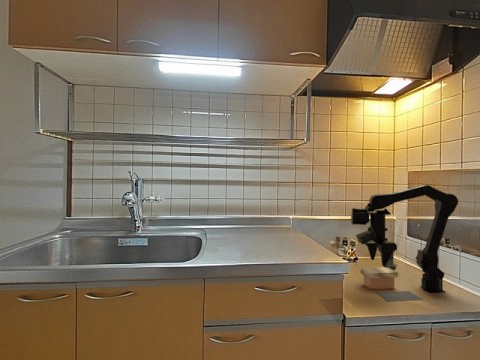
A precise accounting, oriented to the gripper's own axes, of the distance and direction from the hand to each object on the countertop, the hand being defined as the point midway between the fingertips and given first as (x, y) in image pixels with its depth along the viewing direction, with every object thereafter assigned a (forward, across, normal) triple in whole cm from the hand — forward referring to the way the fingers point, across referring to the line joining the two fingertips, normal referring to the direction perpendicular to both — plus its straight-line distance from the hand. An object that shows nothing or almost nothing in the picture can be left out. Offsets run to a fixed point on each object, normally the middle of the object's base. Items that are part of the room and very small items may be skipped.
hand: (378, 262), depth 130 cm
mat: (+10, +11, +2) cm, 15 cm away
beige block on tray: (+5, 0, 0) cm, 5 cm away
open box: (+10, 0, 0) cm, 10 cm away
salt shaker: (+10, -18, +15) cm, 26 cm away
